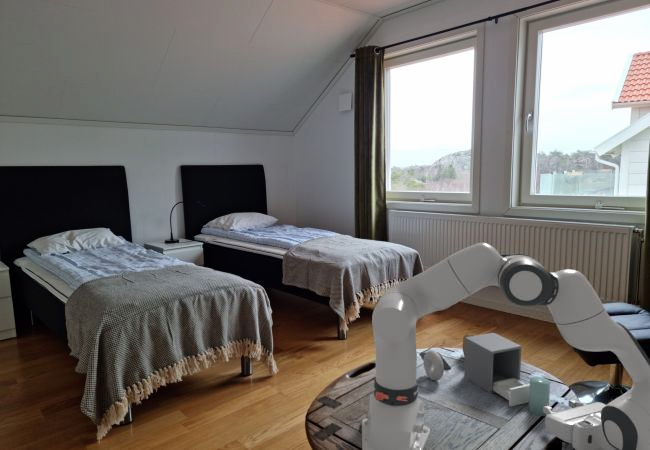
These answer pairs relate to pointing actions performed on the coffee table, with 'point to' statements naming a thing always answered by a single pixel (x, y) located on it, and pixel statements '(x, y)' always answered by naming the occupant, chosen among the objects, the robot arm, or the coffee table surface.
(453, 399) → the coffee table surface
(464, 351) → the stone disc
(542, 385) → the sage green cylinder
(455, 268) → the robot arm
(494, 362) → the housing
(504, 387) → the tray
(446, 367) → the smartphone
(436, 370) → the donut
